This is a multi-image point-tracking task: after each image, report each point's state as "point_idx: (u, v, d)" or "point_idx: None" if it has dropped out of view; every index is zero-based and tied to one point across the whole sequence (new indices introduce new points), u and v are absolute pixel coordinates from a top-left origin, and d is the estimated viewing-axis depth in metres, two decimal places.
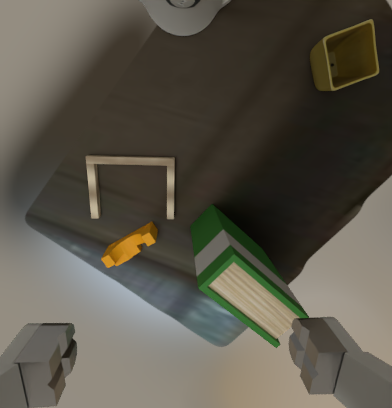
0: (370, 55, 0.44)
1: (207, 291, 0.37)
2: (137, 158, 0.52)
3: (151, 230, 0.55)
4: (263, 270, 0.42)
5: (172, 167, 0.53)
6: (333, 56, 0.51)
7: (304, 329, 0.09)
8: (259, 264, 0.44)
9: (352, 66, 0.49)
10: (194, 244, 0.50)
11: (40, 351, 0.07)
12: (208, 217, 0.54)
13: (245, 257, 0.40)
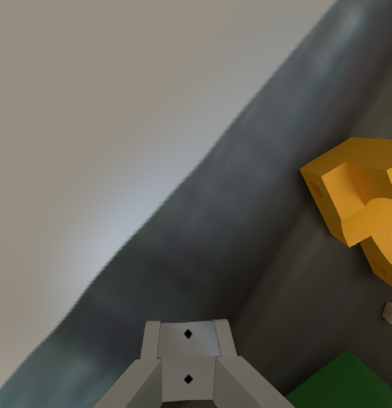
0: None
1: None
2: None
3: None
4: None
5: None
6: None
7: (189, 332, 0.09)
8: None
9: None
10: None
11: (176, 347, 0.08)
12: None
13: None
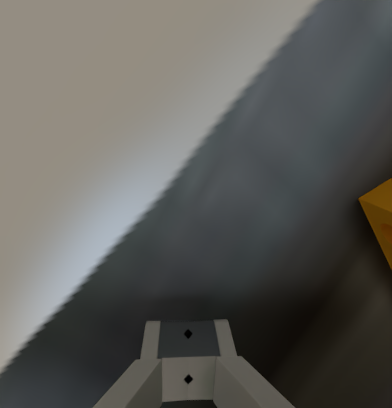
0: None
1: None
2: None
3: None
4: None
5: None
6: None
7: (189, 332, 0.08)
8: None
9: None
10: None
11: (175, 347, 0.08)
12: None
13: None
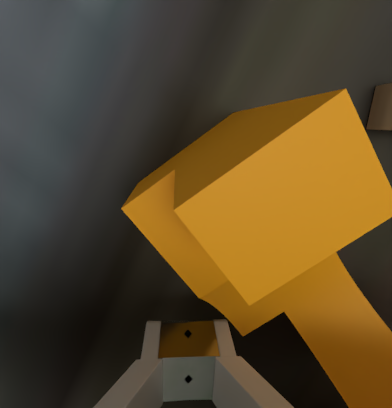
0: None
1: None
2: None
3: None
4: None
5: None
6: None
7: (188, 332, 0.08)
8: None
9: None
10: None
11: (176, 347, 0.08)
12: None
13: None
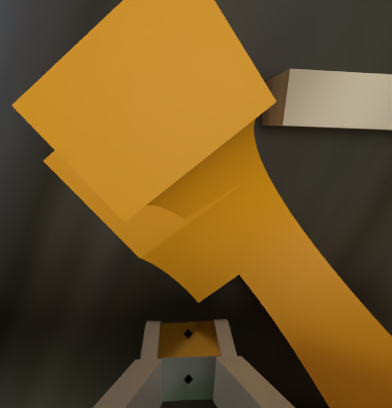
0: None
1: None
2: None
3: None
4: None
5: None
6: None
7: (189, 332, 0.08)
8: None
9: None
10: None
11: (176, 347, 0.08)
12: None
13: None
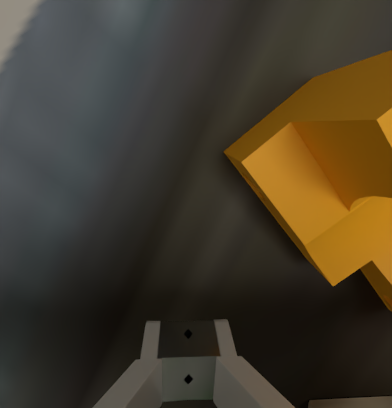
0: None
1: None
2: None
3: None
4: None
5: None
6: None
7: (189, 332, 0.08)
8: None
9: None
10: None
11: (176, 347, 0.08)
12: None
13: None
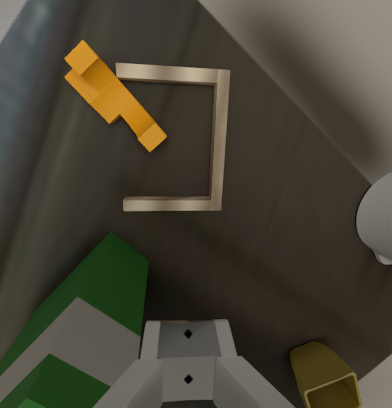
0: None
1: None
2: (223, 156, 0.34)
3: None
4: None
5: (208, 207, 0.36)
6: None
7: (189, 332, 0.08)
8: None
9: None
10: (94, 271, 0.27)
11: (175, 347, 0.08)
12: (135, 270, 0.34)
13: None
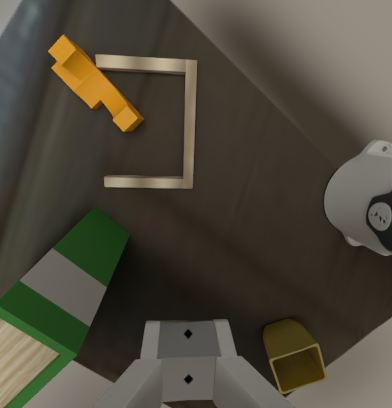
0: (296, 380, 0.46)
1: None
2: (193, 138, 0.38)
3: (137, 120, 0.34)
4: None
5: (180, 186, 0.40)
6: None
7: (189, 332, 0.09)
8: None
9: (282, 359, 0.50)
10: (72, 233, 0.32)
11: (175, 347, 0.08)
12: (113, 239, 0.38)
13: None
